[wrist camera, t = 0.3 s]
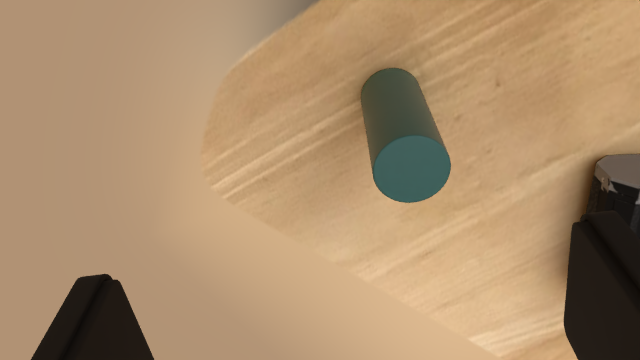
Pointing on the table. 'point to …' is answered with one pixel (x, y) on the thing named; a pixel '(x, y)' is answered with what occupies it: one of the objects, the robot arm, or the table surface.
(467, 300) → the table surface
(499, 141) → the table surface
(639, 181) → the camera
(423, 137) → the peg
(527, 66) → the table surface
